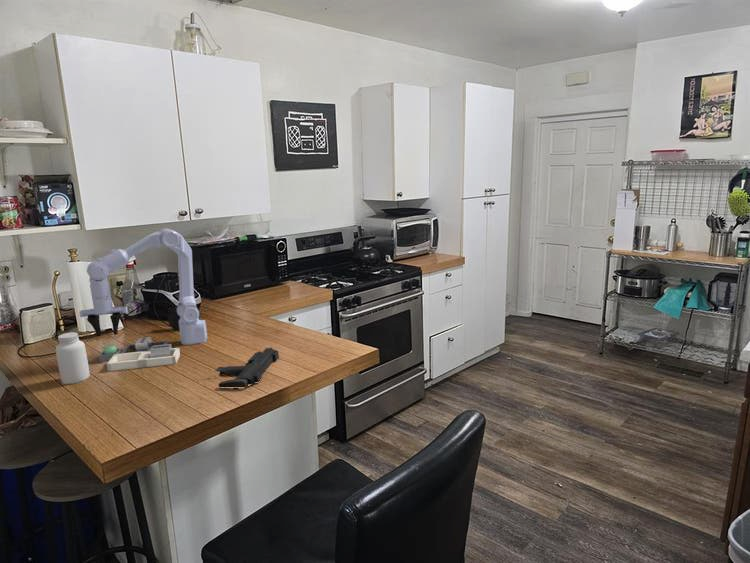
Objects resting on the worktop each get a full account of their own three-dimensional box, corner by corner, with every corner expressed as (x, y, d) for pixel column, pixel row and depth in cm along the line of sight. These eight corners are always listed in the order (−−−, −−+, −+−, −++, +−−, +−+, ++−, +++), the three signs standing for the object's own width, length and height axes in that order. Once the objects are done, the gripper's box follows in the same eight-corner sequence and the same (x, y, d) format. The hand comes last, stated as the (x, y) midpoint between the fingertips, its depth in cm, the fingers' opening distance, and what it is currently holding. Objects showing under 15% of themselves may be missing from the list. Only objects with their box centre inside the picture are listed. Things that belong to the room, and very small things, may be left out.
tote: (168, 346, 183) (167, 340, 182) (162, 358, 171) (161, 351, 171) (128, 351, 180) (127, 344, 179) (119, 363, 168) (118, 356, 168)
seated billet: (154, 359, 168) (152, 345, 167) (173, 357, 169) (171, 343, 168) (152, 363, 164) (149, 349, 163) (171, 361, 165) (169, 347, 164)
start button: (118, 352, 173) (117, 344, 173) (115, 356, 170) (114, 347, 169) (106, 353, 173) (105, 345, 172) (102, 357, 169) (101, 349, 168)
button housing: (123, 356, 175) (122, 348, 174) (118, 362, 169) (117, 354, 169) (105, 357, 174) (103, 350, 173) (99, 364, 168) (98, 356, 167)
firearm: (230, 355, 176) (283, 352, 174) (190, 393, 147) (254, 390, 144) (228, 347, 175) (282, 344, 173) (188, 382, 146) (252, 380, 144)
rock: (202, 326, 206) (200, 303, 204) (199, 329, 203) (197, 306, 200) (172, 327, 206) (169, 305, 204) (168, 330, 202) (165, 307, 200)
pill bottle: (60, 386, 151) (51, 340, 147) (62, 377, 158) (54, 333, 154) (89, 381, 154) (81, 336, 151) (90, 372, 161) (83, 329, 158)
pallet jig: (180, 357, 172) (179, 347, 171) (176, 366, 164) (175, 356, 163) (115, 363, 168) (114, 354, 167) (108, 374, 159) (106, 364, 158)
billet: (152, 349, 179) (150, 336, 178) (149, 355, 173) (147, 341, 172) (140, 351, 178) (138, 337, 177) (136, 356, 172) (134, 343, 171)
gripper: (127, 292, 172) (133, 328, 175) (82, 295, 169) (88, 333, 172) (122, 296, 165) (128, 335, 168) (74, 300, 162) (81, 339, 165)
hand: (107, 334), depth 169 cm, fingers open, 5 cm apart
